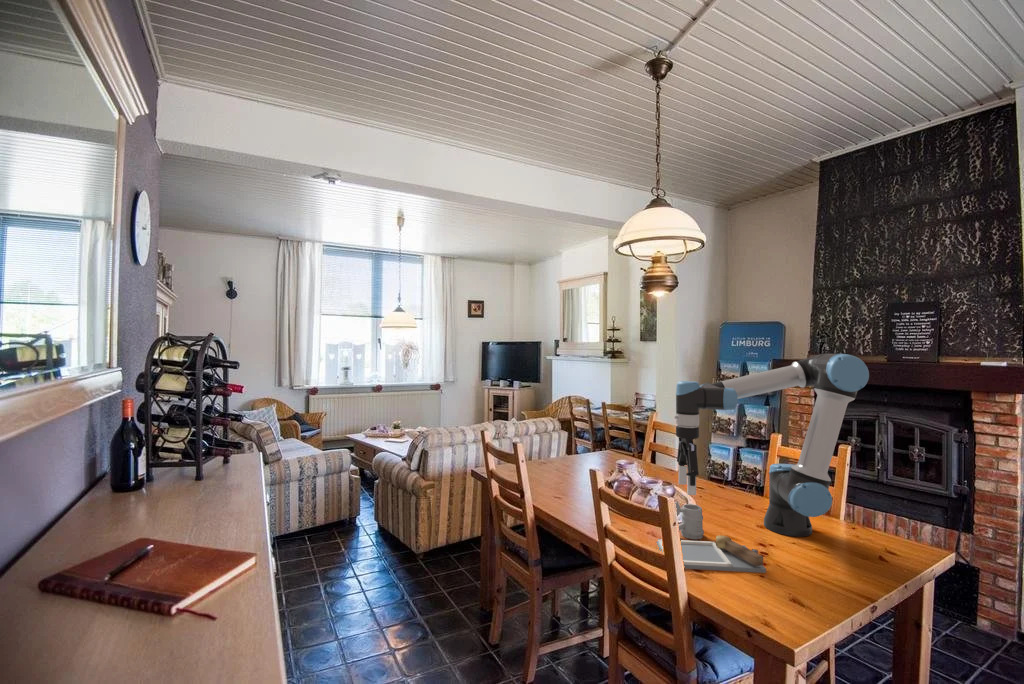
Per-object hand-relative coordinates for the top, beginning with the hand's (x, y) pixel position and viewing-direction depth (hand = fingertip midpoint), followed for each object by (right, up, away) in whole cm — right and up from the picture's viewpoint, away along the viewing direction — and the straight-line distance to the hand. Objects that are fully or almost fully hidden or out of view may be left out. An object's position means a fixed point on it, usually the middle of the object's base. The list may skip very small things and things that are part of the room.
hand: (687, 489), depth 166 cm
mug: (0, -16, 0) cm, 16 cm away
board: (0, -16, -17) cm, 23 cm away
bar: (+9, -14, -19) cm, 25 cm away
